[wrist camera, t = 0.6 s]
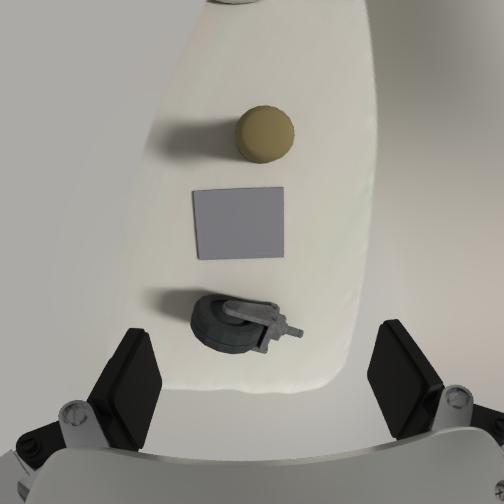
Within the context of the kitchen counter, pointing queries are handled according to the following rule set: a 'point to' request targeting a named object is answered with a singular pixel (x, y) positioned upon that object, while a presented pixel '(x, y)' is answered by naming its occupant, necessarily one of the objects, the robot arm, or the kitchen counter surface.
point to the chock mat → (240, 223)
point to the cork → (264, 134)
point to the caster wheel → (238, 324)
